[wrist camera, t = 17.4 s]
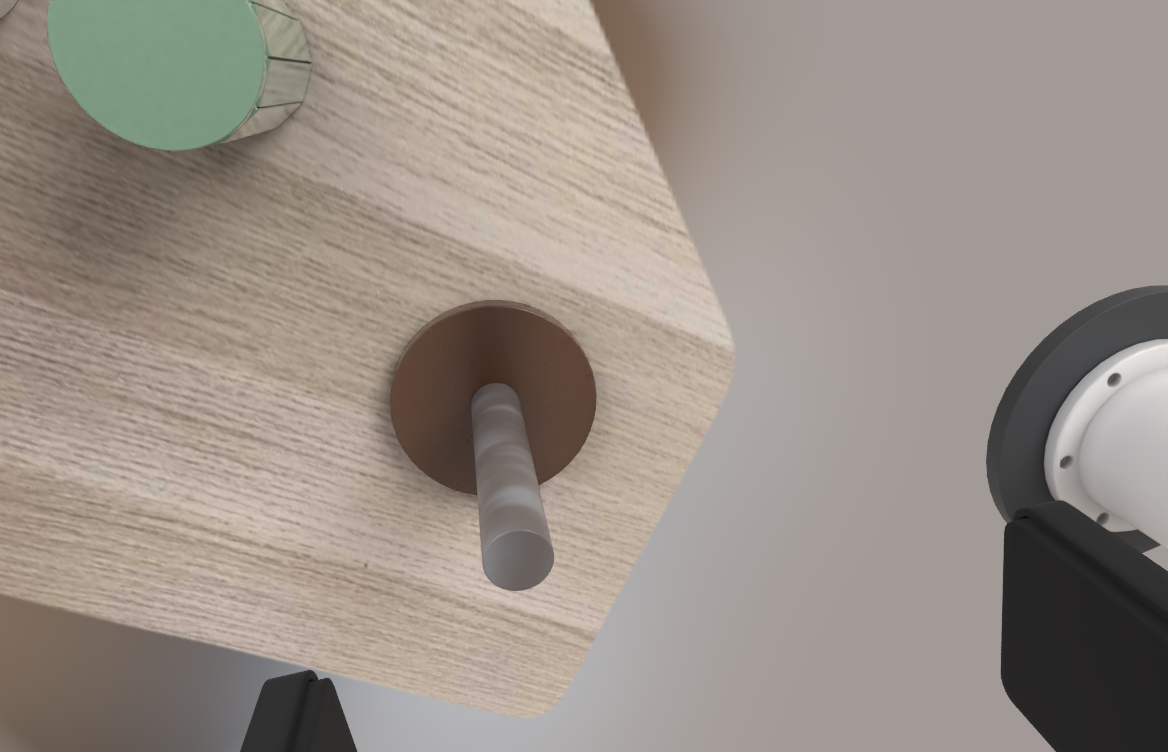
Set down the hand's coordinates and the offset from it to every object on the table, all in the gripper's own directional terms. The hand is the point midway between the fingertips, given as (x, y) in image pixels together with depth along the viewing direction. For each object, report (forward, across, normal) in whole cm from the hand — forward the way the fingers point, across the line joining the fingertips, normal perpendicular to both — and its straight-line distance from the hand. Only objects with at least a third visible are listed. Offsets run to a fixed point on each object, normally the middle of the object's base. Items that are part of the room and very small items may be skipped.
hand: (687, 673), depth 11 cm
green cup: (+32, +12, -11) cm, 36 cm away
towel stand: (+33, +3, +8) cm, 34 cm away
